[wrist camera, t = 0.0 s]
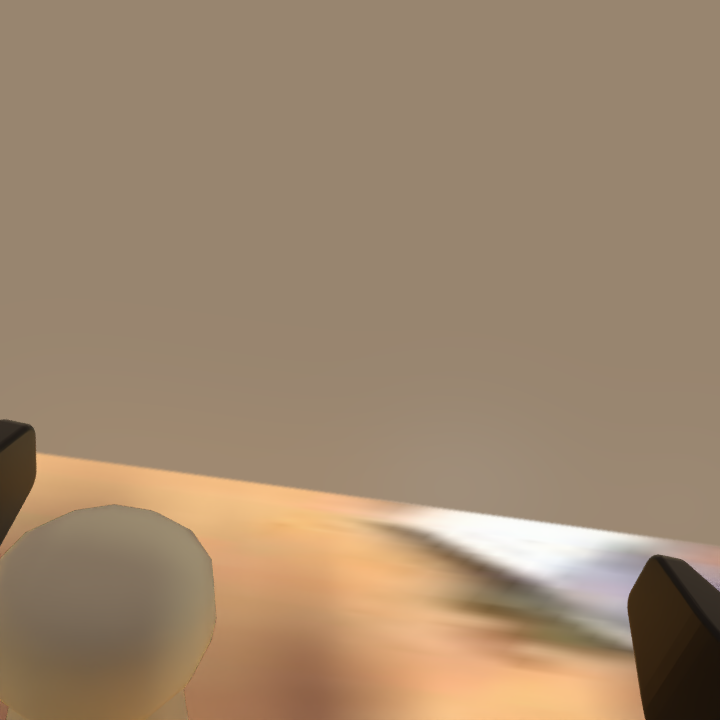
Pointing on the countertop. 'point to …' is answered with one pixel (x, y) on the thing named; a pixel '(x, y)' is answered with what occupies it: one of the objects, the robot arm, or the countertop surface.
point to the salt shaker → (103, 617)
